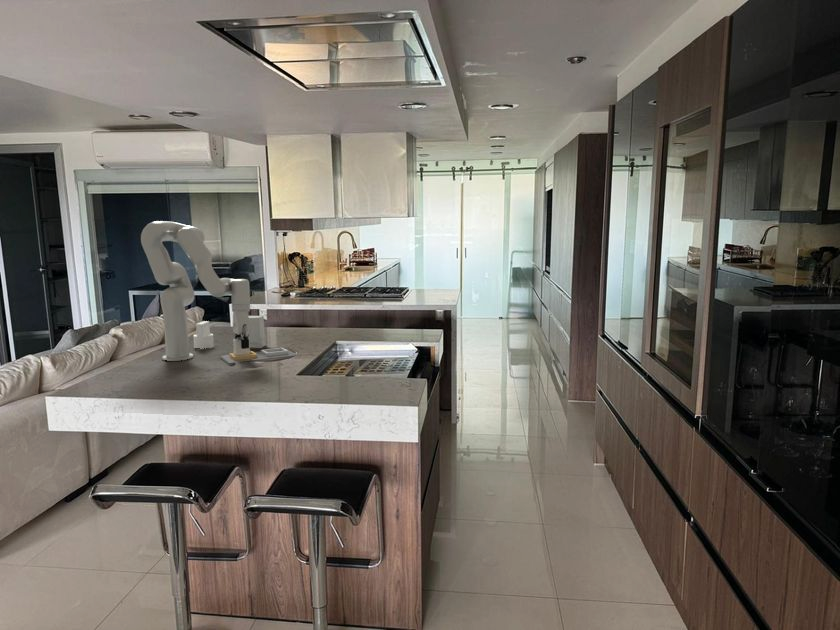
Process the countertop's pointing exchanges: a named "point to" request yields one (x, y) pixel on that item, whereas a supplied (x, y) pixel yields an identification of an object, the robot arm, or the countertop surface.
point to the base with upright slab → (203, 336)
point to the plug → (237, 347)
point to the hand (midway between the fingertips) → (242, 346)
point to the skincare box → (256, 332)
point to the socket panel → (257, 355)
